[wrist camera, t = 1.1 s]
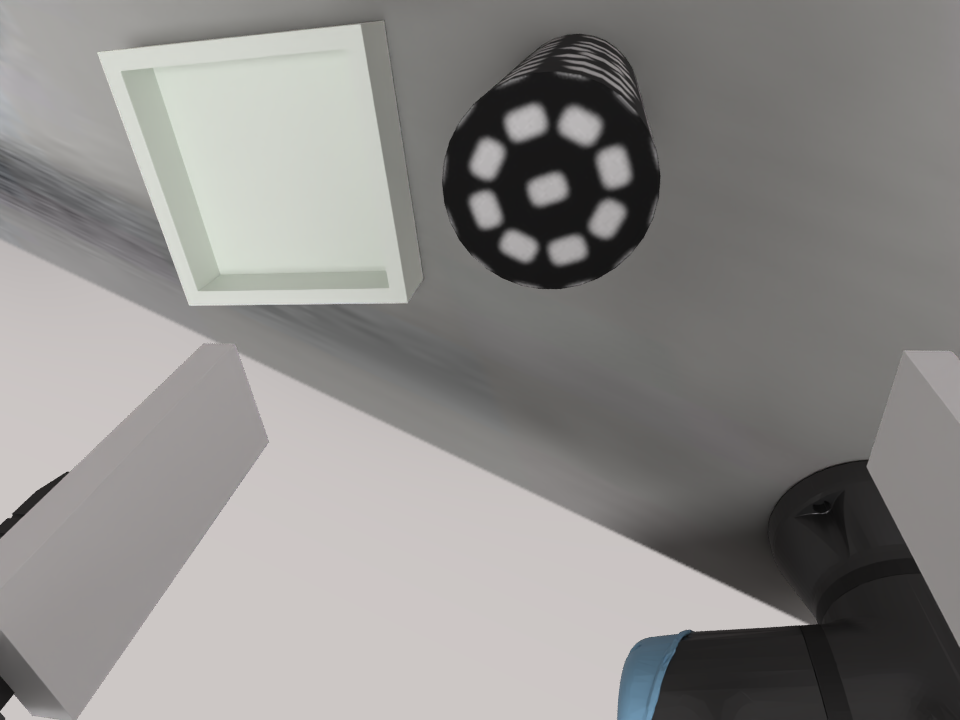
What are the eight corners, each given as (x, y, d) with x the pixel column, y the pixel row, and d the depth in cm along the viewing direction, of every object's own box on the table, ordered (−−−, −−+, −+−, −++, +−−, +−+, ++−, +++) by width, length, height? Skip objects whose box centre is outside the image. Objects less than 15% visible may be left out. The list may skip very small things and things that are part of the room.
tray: (423, 278, 49) (407, 303, 45) (219, 282, 53) (189, 305, 49) (384, 20, 40) (360, 24, 36) (141, 46, 44) (97, 52, 40)
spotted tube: (533, 185, 44) (486, 310, 27) (492, 64, 40) (408, 120, 23) (652, 145, 41) (682, 257, 24) (620, 11, 38) (627, 32, 21)
